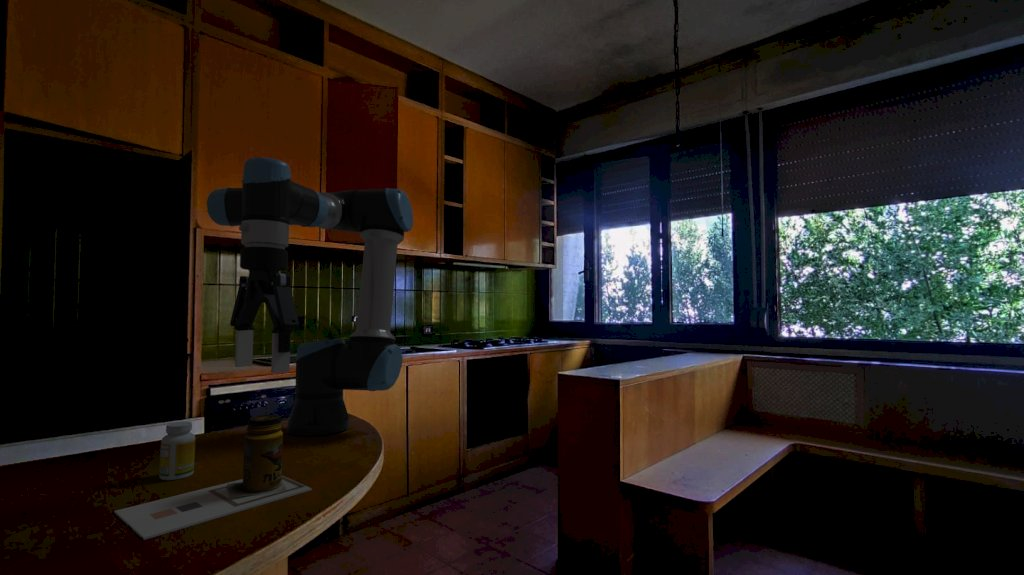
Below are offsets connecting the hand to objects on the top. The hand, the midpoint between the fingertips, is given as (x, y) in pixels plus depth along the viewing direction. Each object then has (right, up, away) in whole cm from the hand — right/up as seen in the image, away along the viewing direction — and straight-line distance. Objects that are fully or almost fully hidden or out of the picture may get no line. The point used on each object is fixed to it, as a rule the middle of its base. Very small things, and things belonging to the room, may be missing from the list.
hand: (261, 369), depth 86 cm
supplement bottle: (-19, -21, +6) cm, 29 cm away
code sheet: (-4, -20, -6) cm, 21 cm away
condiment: (0, -21, -1) cm, 21 cm away
